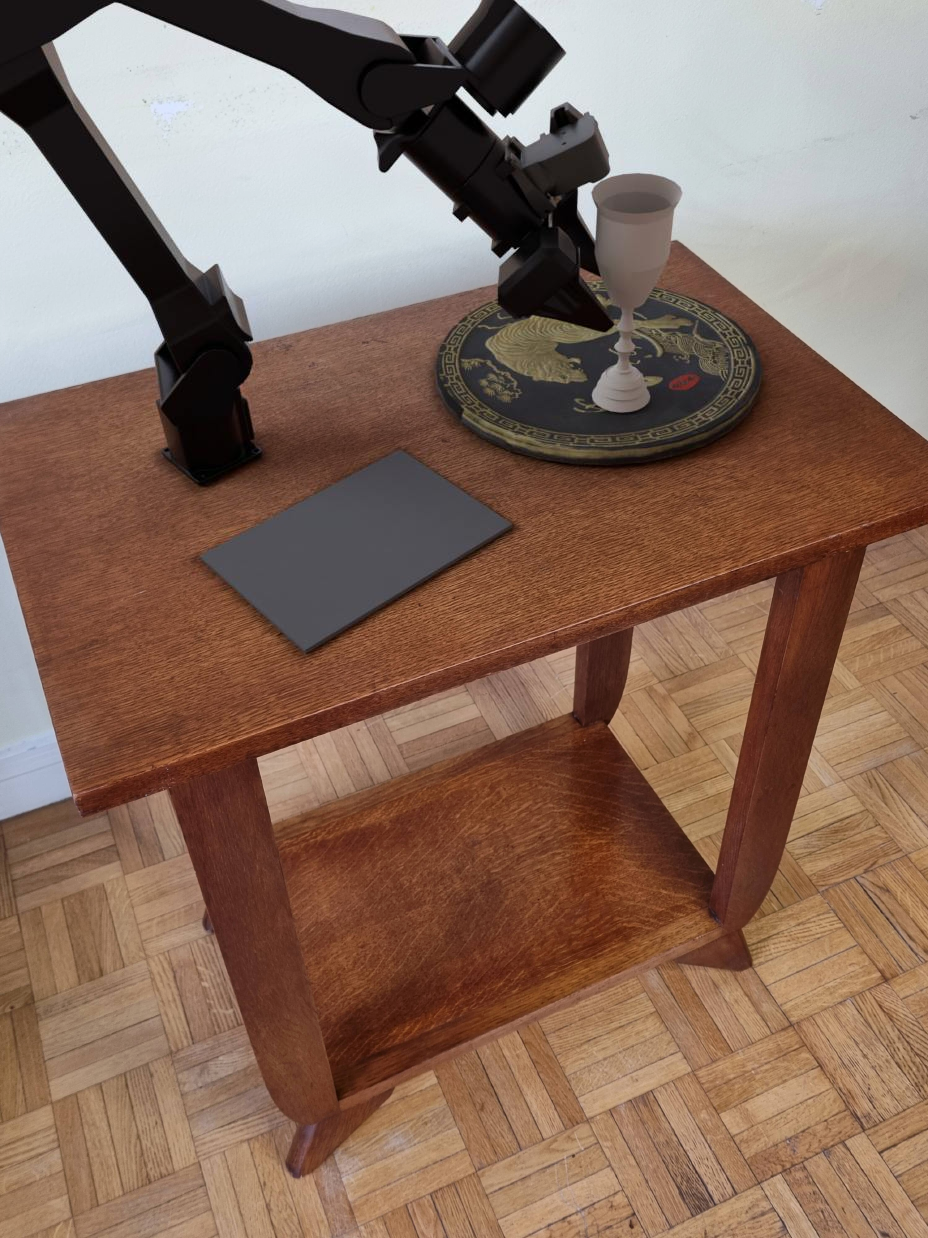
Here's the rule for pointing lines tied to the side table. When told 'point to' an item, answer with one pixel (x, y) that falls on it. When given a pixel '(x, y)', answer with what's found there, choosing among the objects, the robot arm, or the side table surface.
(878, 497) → the side table surface
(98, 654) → the side table surface
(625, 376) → the chalice
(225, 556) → the felt mat
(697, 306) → the decorative plate
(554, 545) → the side table surface
